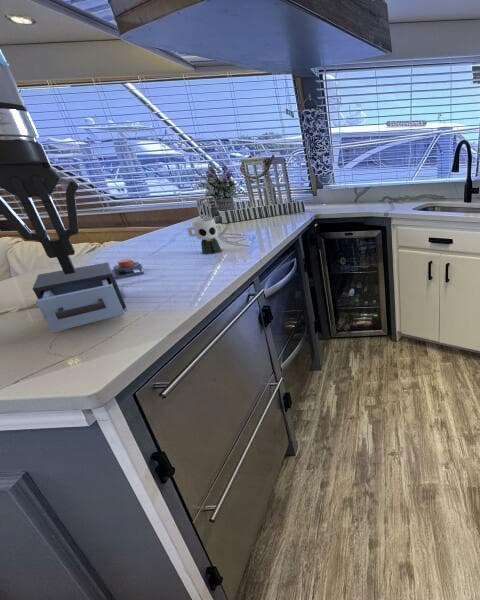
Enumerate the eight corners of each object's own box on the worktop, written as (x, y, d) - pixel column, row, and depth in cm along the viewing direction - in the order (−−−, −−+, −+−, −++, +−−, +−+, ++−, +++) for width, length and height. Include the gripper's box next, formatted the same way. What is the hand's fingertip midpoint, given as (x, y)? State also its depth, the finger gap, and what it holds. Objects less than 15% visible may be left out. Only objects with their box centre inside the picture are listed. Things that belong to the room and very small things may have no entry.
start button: (120, 268, 94) (118, 263, 94) (119, 266, 97) (117, 261, 96) (135, 266, 97) (133, 260, 96) (134, 263, 99) (132, 258, 98)
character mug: (197, 260, 113) (186, 223, 108) (195, 256, 119) (184, 221, 113) (231, 254, 119) (221, 219, 114) (227, 251, 125) (218, 217, 119)
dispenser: (126, 307, 76) (111, 273, 73) (52, 326, 68) (32, 288, 65) (121, 293, 85) (108, 262, 82) (55, 308, 78) (38, 274, 74)
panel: (93, 289, 89) (87, 276, 88) (92, 281, 96) (86, 268, 94) (147, 278, 97) (142, 265, 95) (142, 271, 103) (138, 259, 102)
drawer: (126, 320, 67) (114, 290, 64) (50, 341, 60) (33, 308, 57) (119, 299, 79) (108, 273, 76) (55, 314, 72) (40, 285, 69)
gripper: (-61, 137, 48) (19, 285, 57) (60, 139, 56) (113, 268, 65) (-47, 141, 53) (25, 276, 62) (62, 141, 61) (111, 261, 70)
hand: (70, 272), depth 64 cm, fingers closed
